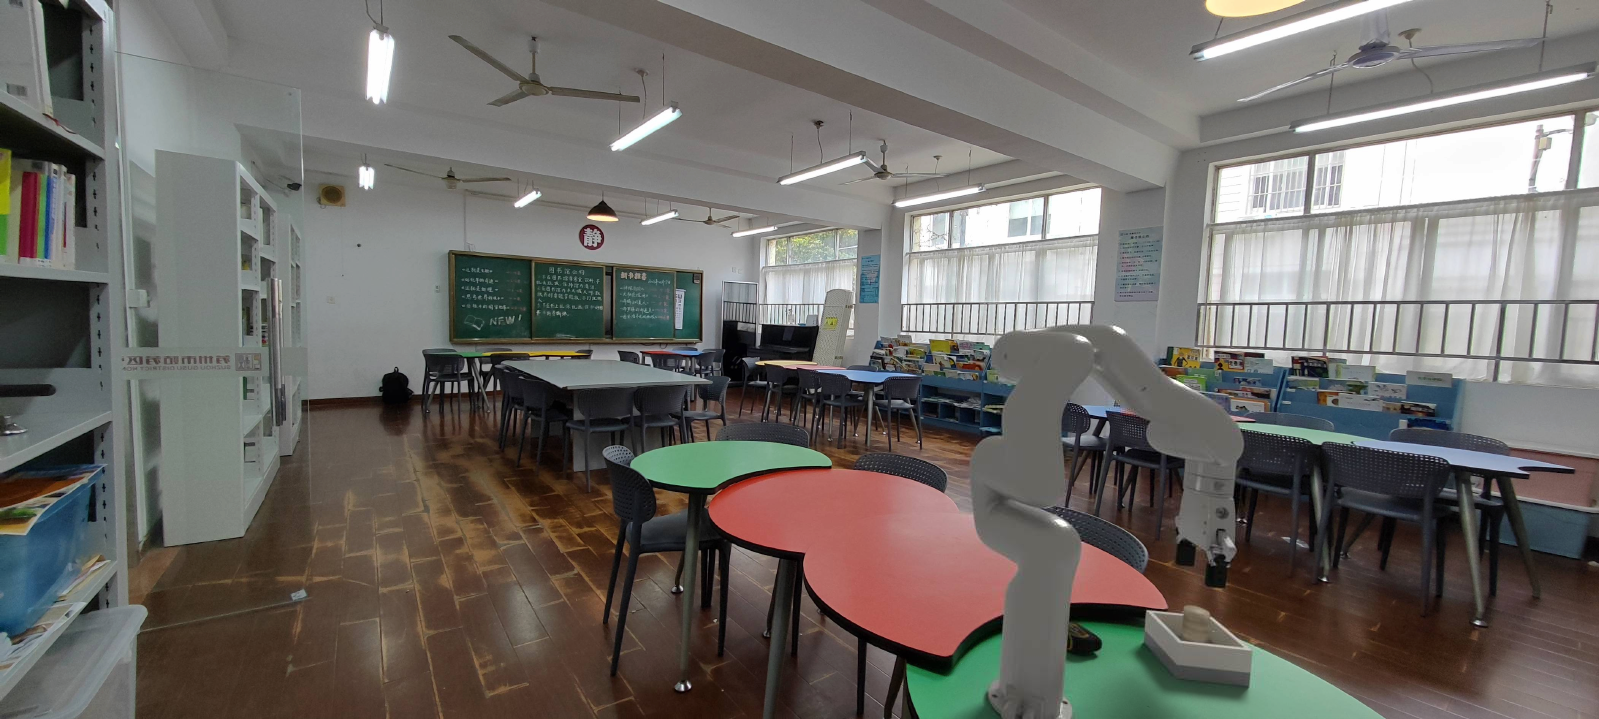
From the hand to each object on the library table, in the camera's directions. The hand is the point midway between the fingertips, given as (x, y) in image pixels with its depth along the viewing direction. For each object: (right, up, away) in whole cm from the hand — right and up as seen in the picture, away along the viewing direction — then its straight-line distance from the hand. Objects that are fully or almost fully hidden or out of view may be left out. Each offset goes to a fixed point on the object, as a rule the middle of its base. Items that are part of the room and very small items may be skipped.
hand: (1199, 575), depth 105 cm
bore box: (0, -17, +1) cm, 17 cm away
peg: (0, -17, +1) cm, 17 cm away
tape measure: (-20, -16, +5) cm, 26 cm away
